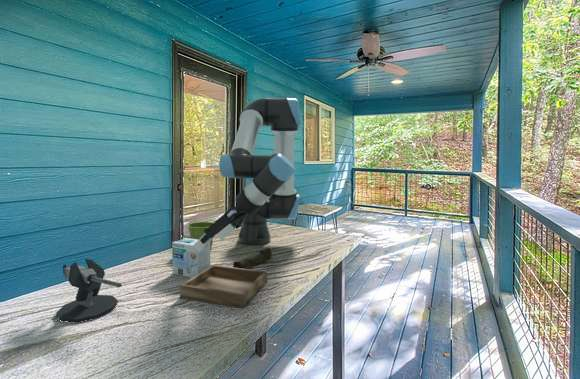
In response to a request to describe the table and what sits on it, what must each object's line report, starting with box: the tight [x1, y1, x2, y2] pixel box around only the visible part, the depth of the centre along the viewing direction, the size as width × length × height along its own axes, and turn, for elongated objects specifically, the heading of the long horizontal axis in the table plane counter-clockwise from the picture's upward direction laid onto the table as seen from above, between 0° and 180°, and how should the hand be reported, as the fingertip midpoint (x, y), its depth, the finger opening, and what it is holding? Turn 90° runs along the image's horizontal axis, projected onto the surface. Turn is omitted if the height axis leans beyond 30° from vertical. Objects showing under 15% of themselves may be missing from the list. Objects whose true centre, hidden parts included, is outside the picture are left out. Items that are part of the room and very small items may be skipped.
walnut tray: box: [179, 264, 268, 309], centre depth 86 cm, size 17×19×4 cm
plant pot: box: [186, 221, 214, 252], centre depth 121 cm, size 12×12×11 cm
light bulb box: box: [171, 237, 211, 279], centre depth 98 cm, size 11×7×11 cm, turn 68°
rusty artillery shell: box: [232, 247, 273, 269], centre depth 107 cm, size 19×4×5 cm, turn 143°
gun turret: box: [55, 258, 123, 323], centre depth 72 cm, size 13×20×13 cm, turn 68°
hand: (208, 242), depth 94 cm, fingers open, 13 cm apart
